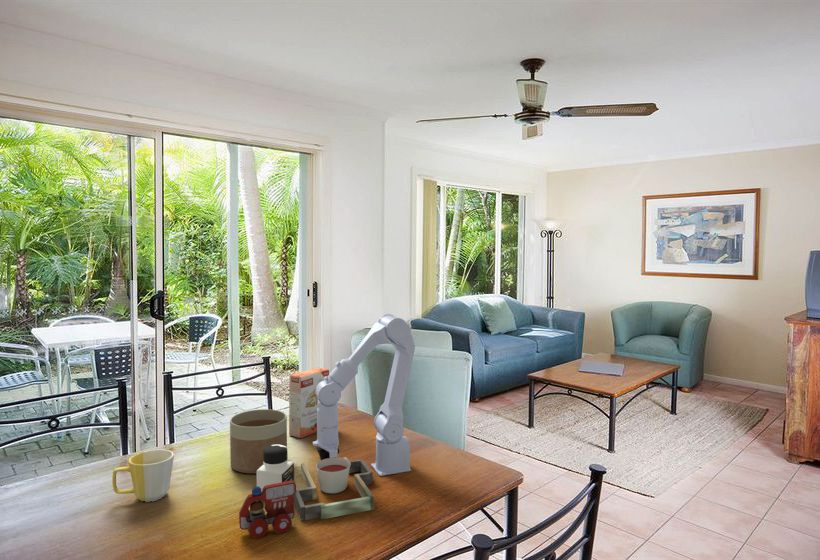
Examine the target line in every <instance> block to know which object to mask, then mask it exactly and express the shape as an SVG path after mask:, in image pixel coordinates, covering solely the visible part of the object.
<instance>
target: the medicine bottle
mask: <svg viewBox="0 0 820 560" xmlns="http://www.w3.org/2000/svg"><path fill="white" fill-rule="evenodd" d="M263 464H264V465H262V466H261V467H260V468H259V469H258V470H257V473H256V486H258V487H260V488H261V492H262V490H263V487H264V486H266V485H270V484H276V483H281V482H286V481H294V482H295V462H294V461H291V460H290V461H288V446H287V447H286V446H283V445H278V444H276V445H271V446H268V447H266V448H265V449H264V450H263Z"/></svg>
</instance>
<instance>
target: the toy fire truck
mask: <svg viewBox="0 0 820 560" xmlns="http://www.w3.org/2000/svg"><path fill="white" fill-rule="evenodd" d="M296 490H297V484H296V482H295V480H294V481H286V482H281V483H276V484H270V485H266V486H264V487H263V490H262V492H261V488H260V487H258V486H257V485H256V486H254V487H253V488H252V489H251V493H250V494H248V495H247V496H246V497H245V500H244V501H243V503H242V506H241V508H240V510H239V512H238V513H239V514H238V516H239V517H238V518H239V519H238V520H239V524H238V525H239V528H240V529H241V530H242V531H243V530H248V531H249V535H250V536H251V537H252V538H253V539H261V538H264V536H266V534H267V532H268V531H269V525H272V528H273V531H274V532H275V533H276V534H280V535H281V534H282V535H283V534H286V533H288V532H289V530H290V529H291V527H292V524H293V523H292V522H293V521H292V519H294V517H295V503H294V494H295V493H296Z"/></svg>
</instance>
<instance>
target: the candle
mask: <svg viewBox="0 0 820 560" xmlns="http://www.w3.org/2000/svg"><path fill="white" fill-rule="evenodd" d="M349 461H350V460H349V459H348V460H346V459H343V457H336V458H327V459H323V460H321V459H320V461H317V463H316V464H315V468H316V473H317V479H318V485H319V489H320V491H322V492H323V493H326V494H339V493H341V492H344V491H345V490H346V488H347V486H348V481H349V474H350V473H349V471H350V465H351V463H350V462H349Z"/></svg>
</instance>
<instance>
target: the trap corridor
mask: <svg viewBox="0 0 820 560" xmlns="http://www.w3.org/2000/svg"><path fill="white" fill-rule="evenodd" d="M342 458H343V459H346V460H348V461H349V462H350V463H351V465H350V471H349V474H350V473H354V474H353V480H354V481H353V486H354V487H355V489H356V490H357V492H358V494H359V495H360V496H361V497H358V498H351V499H347V500H341V501H336V502H329V503H324V502H323V501H322V502H319V503H312V504H307V505H305V504H304V503H305V502H309V501H316V500H317V486H316V484H315V482H314V479H313V478H312V476H311V474H310V472H309V470H308V468H307V466H306V464H305V462H303V463H300V475H301V478H302V480H303V482H304V485H305V486H306V487H302V488H297V489H296V493H295V494H294V507H295V508H296V511H297V513H298V516H299V519H300V521H303V520H305V521H310V520H314V519H319V518H320V520H325V519H331V518H335V517H341V516H348V515H353V514H357V513H363V512H367V511H373V510H375V496H374V495H373V493H372V492H371V490H370V489H369V488H368V486H369V485H371V484H373V480H374V478H373V474H374V473H373V471H372V469H371V468H370V466H368V464H367V463H366V462H365V460H364V459H353V460H349V459H348V458H347V457H346V456H345V457H342ZM357 472H360V473H357ZM355 473H356V474H355Z"/></svg>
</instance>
